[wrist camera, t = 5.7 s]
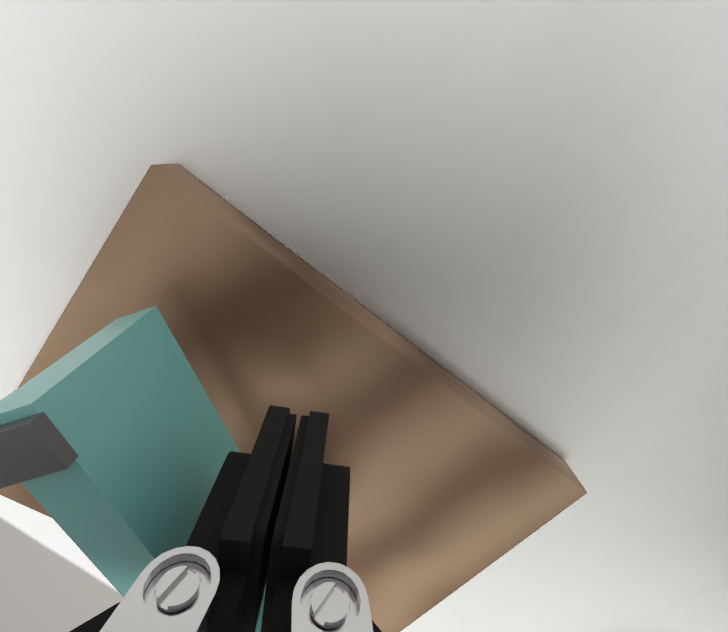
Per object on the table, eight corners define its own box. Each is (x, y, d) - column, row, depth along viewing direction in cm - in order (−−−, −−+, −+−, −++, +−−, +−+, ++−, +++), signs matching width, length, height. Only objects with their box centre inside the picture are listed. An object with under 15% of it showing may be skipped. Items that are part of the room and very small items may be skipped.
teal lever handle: (364, 575, 15) (370, 751, 11) (244, 605, 16) (203, 785, 11) (220, 284, 10) (124, 381, 6) (55, 338, 11) (-148, 466, 6)
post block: (564, 461, 20) (669, 609, 13) (363, 619, 24) (369, 789, 18) (177, 163, 14) (26, 172, 7) (3, 445, 18) (-188, 606, 12)
